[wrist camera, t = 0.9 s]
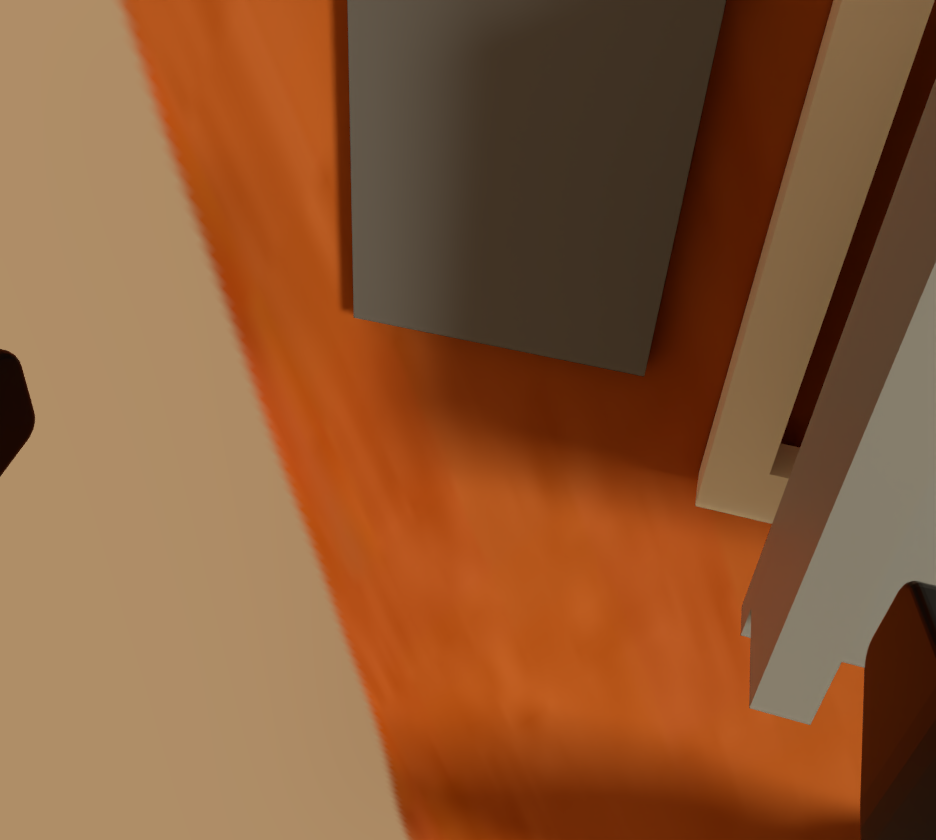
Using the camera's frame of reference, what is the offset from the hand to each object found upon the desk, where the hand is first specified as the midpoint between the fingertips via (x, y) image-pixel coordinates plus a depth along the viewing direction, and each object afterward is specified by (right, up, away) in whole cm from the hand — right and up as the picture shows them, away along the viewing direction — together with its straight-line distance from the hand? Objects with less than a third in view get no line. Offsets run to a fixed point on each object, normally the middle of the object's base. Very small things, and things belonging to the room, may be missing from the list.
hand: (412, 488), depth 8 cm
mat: (+2, +7, +11) cm, 13 cm away
